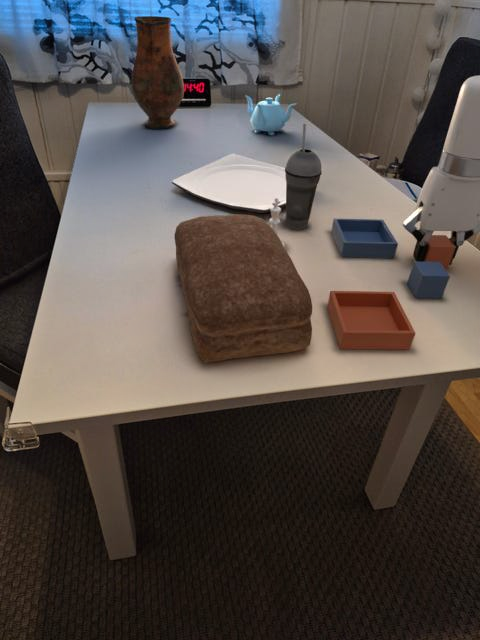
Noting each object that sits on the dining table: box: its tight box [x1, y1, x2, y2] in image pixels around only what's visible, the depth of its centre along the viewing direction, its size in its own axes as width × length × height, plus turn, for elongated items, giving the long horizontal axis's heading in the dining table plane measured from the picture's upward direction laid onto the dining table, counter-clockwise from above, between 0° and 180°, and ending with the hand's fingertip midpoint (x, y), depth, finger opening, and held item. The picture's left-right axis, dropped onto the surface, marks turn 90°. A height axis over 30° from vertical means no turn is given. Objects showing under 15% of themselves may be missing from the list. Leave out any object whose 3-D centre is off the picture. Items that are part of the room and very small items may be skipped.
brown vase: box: [131, 15, 185, 130], centre depth 142 cm, size 17×21×30 cm
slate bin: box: [330, 218, 399, 259], centre depth 87 cm, size 10×10×3 cm
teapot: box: [244, 93, 297, 136], centre depth 145 cm, size 13×13×10 cm
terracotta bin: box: [326, 290, 416, 351], centre depth 67 cm, size 10×10×3 cm
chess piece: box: [268, 198, 286, 249], centre depth 83 cm, size 5×5×10 cm
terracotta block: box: [424, 234, 456, 270], centre depth 82 cm, size 4×4×4 cm
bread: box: [173, 213, 313, 363], centre depth 68 cm, size 17×29×11 cm, turn 12°
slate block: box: [406, 260, 451, 300], centre depth 75 cm, size 4×4×4 cm
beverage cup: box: [284, 123, 323, 231], centre depth 88 cm, size 7×7×20 cm
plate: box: [171, 153, 286, 214], centre depth 108 cm, size 29×29×3 cm
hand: (432, 260), depth 83 cm, fingers closed on terracotta block, 4 cm apart
